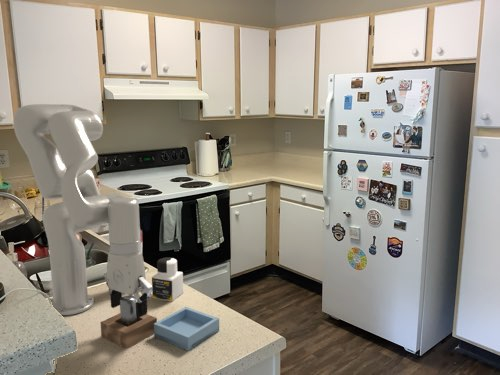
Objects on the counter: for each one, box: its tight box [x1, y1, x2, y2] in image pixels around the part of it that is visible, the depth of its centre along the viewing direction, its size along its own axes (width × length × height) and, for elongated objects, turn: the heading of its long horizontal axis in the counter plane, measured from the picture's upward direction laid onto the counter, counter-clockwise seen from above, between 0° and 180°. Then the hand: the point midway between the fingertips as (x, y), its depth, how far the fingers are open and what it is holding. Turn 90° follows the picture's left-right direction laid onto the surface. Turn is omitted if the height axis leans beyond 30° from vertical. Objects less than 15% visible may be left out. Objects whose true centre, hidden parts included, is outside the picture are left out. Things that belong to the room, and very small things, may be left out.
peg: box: [119, 294, 137, 327], centre depth 115 cm, size 4×4×10 cm
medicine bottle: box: [151, 257, 184, 302], centre depth 139 cm, size 7×7×12 cm
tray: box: [153, 306, 220, 352], centre depth 116 cm, size 12×12×4 cm
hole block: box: [100, 312, 158, 349], centre depth 116 cm, size 10×10×4 cm
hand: (129, 310), depth 115 cm, fingers open, 9 cm apart
